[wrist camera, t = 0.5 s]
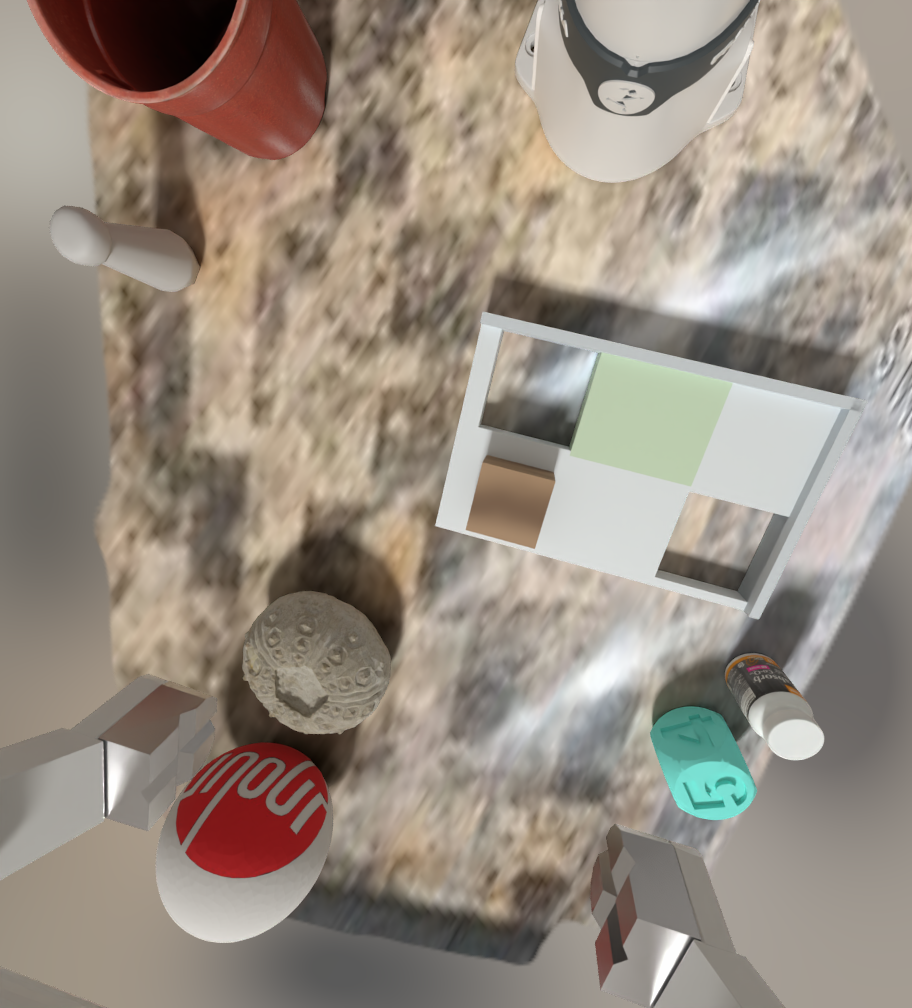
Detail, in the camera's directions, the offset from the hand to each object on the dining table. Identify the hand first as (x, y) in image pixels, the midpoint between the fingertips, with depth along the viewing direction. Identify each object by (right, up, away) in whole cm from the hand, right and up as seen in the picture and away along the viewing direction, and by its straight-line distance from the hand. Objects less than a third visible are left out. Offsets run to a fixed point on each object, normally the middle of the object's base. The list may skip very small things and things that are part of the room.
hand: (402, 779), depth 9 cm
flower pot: (-17, +45, +35) cm, 59 cm away
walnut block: (+7, +6, +39) cm, 40 cm away
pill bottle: (+34, -13, +43) cm, 57 cm away
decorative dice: (+29, -22, +47) cm, 59 cm away
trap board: (+18, +10, +39) cm, 44 cm away
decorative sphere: (-23, -33, +58) cm, 71 cm away
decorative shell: (-15, -12, +51) cm, 55 cm away
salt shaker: (-28, +31, +41) cm, 58 cm away
